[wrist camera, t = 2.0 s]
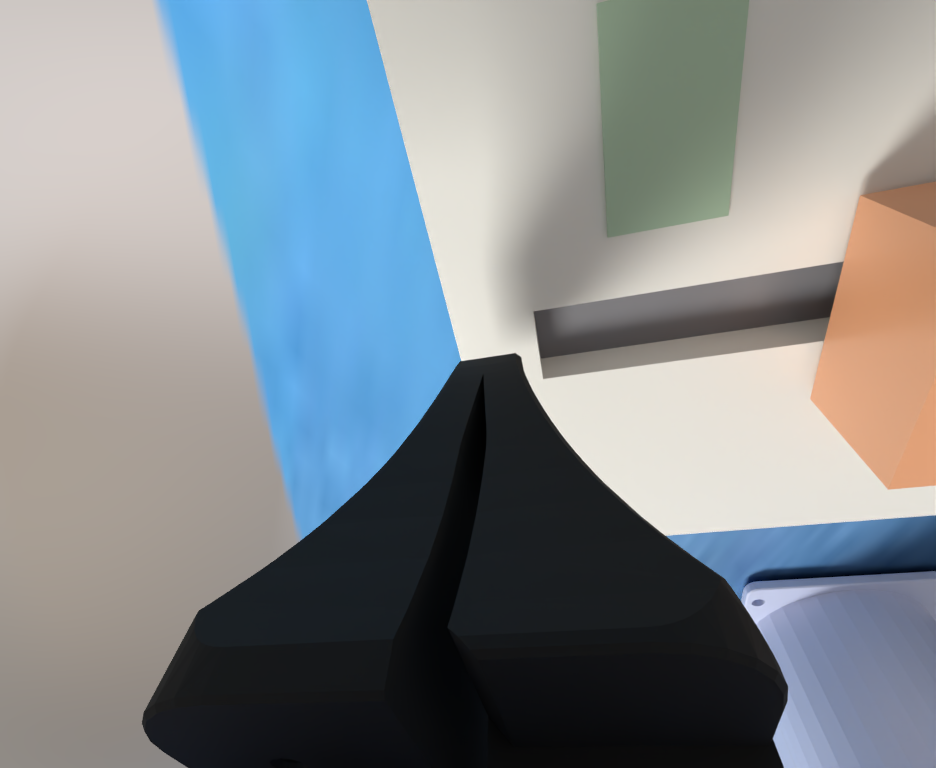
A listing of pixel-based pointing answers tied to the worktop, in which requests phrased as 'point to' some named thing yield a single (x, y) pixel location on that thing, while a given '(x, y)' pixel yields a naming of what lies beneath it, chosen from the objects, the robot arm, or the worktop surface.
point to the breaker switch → (886, 338)
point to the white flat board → (667, 224)
